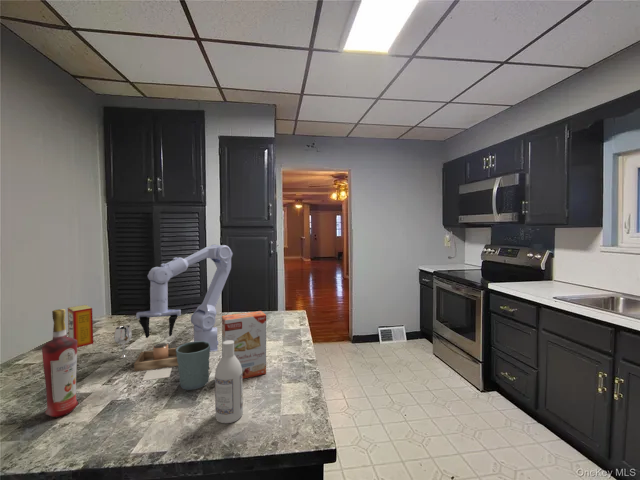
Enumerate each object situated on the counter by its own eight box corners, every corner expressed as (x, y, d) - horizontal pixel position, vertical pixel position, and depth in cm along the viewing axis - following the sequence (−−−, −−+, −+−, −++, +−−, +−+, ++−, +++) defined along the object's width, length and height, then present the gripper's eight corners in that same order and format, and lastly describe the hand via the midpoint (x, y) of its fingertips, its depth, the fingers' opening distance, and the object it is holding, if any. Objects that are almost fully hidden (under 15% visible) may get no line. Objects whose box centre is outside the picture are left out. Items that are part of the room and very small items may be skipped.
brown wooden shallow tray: (184, 354, 121) (184, 346, 121) (181, 366, 111) (181, 357, 111) (141, 360, 116) (141, 351, 116) (134, 372, 106) (134, 363, 106)
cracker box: (225, 384, 98) (224, 319, 97) (221, 376, 104) (220, 315, 103) (267, 374, 105) (266, 314, 104) (262, 367, 110) (261, 309, 109)
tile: (172, 369, 108) (171, 367, 108) (169, 378, 102) (169, 376, 102) (146, 372, 106) (146, 371, 106) (142, 382, 99) (141, 380, 99)
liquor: (69, 402, 88) (66, 305, 87) (85, 407, 85) (82, 308, 84) (38, 416, 81) (34, 312, 80) (54, 423, 79) (50, 315, 78)
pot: (169, 358, 117) (169, 342, 117) (167, 363, 112) (167, 346, 112) (154, 360, 115) (154, 343, 115) (152, 365, 110) (151, 348, 110)
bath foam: (233, 405, 86) (232, 335, 86) (248, 415, 82) (247, 341, 81) (210, 417, 81) (209, 342, 80) (225, 428, 76) (224, 349, 76)
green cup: (217, 378, 102) (216, 342, 102) (195, 393, 92) (194, 354, 92) (192, 373, 105) (192, 339, 105) (169, 388, 96) (168, 350, 95)
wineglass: (123, 361, 115) (122, 330, 115) (110, 360, 116) (110, 329, 116) (135, 355, 121) (135, 325, 120) (123, 354, 122) (122, 324, 121)
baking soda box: (68, 342, 134) (67, 306, 134) (86, 338, 139) (85, 304, 139) (74, 348, 128) (73, 310, 128) (93, 343, 133) (92, 307, 133)
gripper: (133, 303, 107) (133, 341, 107) (178, 300, 111) (178, 337, 111) (139, 298, 114) (139, 335, 114) (181, 296, 118) (181, 331, 118)
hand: (159, 336), depth 113 cm, fingers open, 7 cm apart
